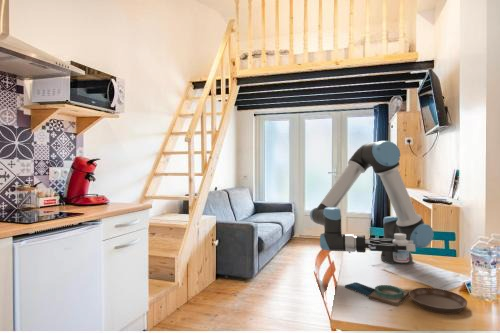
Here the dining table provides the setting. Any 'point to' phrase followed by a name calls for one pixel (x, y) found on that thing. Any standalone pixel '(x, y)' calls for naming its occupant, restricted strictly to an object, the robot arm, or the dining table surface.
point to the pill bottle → (401, 255)
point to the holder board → (389, 301)
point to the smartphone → (360, 288)
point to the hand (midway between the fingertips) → (414, 246)
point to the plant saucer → (438, 300)
